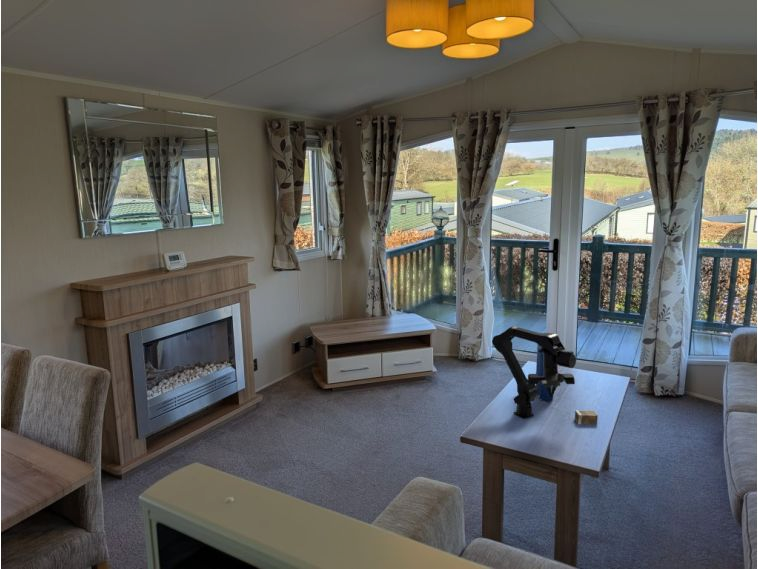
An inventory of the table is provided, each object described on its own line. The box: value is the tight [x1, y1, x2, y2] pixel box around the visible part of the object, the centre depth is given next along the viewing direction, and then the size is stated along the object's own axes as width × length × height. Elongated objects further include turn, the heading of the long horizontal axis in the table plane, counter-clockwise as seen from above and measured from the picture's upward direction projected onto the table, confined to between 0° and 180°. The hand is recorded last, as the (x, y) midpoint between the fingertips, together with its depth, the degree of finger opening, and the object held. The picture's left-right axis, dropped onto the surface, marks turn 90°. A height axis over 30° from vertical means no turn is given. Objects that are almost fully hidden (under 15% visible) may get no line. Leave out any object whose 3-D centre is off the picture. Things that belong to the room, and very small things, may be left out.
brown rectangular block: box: [574, 410, 599, 425], centre depth 231 cm, size 4×5×8 cm
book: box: [535, 343, 554, 402], centre depth 261 cm, size 22×7×25 cm, turn 168°
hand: (551, 397), depth 229 cm, fingers closed
